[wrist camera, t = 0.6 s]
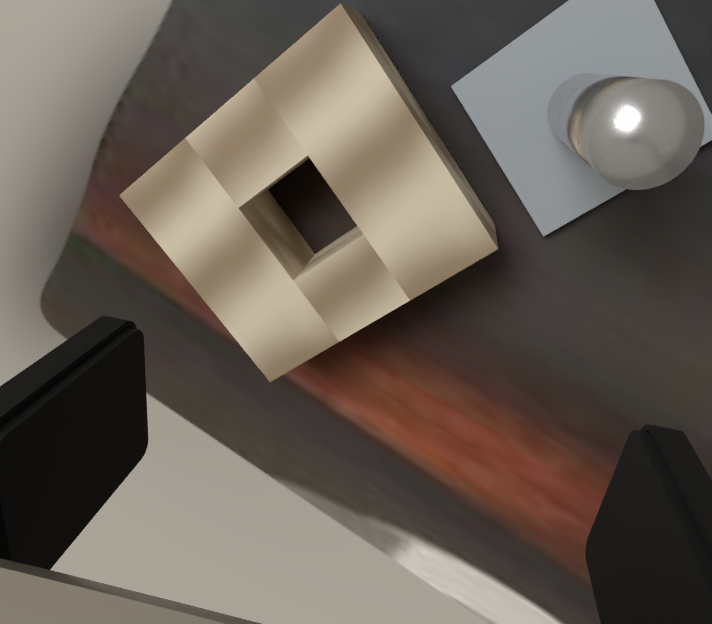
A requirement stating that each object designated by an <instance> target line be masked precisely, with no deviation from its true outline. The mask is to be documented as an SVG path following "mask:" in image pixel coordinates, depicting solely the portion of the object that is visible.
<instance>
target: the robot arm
mask: <svg viewBox="0 0 712 624" xmlns="http://www.w3.org/2000/svg"><path fill="white" fill-rule="evenodd" d="M147 445H148V425H147V402H146V379H145V356H144V337H143V333H142V332H141V331H140V330H137V328H136V325H135V323H133V322H132V321H128V320H123V319H118V318H113V317H108V316H102V317H100V318H98V319H97V320H95V321H94V322H93V323H91V324H90V325H88V326H87V327H85V328H84V329H82V330H81V331H80V332H78V333H77V334H75V335H74V336H72V337H71V338H69V339H68V340H67V341H65V342H64V343H62V344H61V345H60V346H58V347H56V348H55V349H54V350H52V351H51V352H49V353H48V354H47V355H45V356H43V357H42V358H41V359H39V360H38V361H36V362H35V363H33V364H32V365H31V366H29V367H28V368H26V369H25V370H23V371H22V372H21V373H19V374H17V375H16V376H15V377H13V378H12V379H10V380H9V381H7V382H6V383H5V384H3V385H2V386H0V624H260V623H256V622H252V621H249V620H244V619H241V618H237V617H233V616H229V615H225V614H221V613H218V612H214V611H210V610H206V609H202V608H198V607H194V606H190V605H186V604H182V603H179V602H175V601H171V600H167V599H163V598H159V597H155V596H150V595H147V594H143V593H139V592H135V591H131V590H127V589H123V588H119V587H115V586H111V585H107V584H103V583H99V582H95V581H91V580H87V579H83V578H79V577H75V576H71V575H67V574H63V573H59V572H55V571H51V570H50V569H51V568H52V567H53V565H54V564H55V563H56V562H57V561H58V559H59V558H60V557H61V556H62V555H63V553H64V552H65V551H66V550H67V548H68V547H69V546H70V545H71V544H72V542H73V541H74V540H75V539H76V538H77V536H78V535H79V534H80V533H81V532H82V530H83V529H84V528H85V527H86V525H87V524H88V523H89V522H90V520H91V519H92V518H93V517H94V516H95V514H96V513H97V512H98V511H99V510H100V508H101V507H102V506H103V505H104V503H105V502H106V501H107V500H108V499H109V498H110V496H111V495H112V494H113V493H114V491H115V490H116V489H117V488H118V486H119V485H120V484H121V483H122V482H123V481H124V479H125V478H126V477H127V476H128V475H129V473H130V472H131V471H132V470H133V469H134V467H135V466H136V465H137V464H138V462H139V461H140V460H141V459H142V457H143V456H144V454H145V452H146V448H147ZM586 562H587V566H588V570H589V574H590V579H591V583H592V587H593V592H594V596H595V600H596V604H597V609H598V613H599V617H600V621H601V624H712V480H711V478H710V477H709V475H708V473H707V471H706V470H705V468H704V466H703V464H702V463H701V461H700V459H699V458H698V456H697V454H696V452H695V451H694V449H693V447H692V445H691V444H690V442H689V440H688V439H687V437H686V435H685V434H684V433H683V432H682V431H679V430H674V429H669V428H664V427H659V426H654V425H649V424H647V425H645V426H644V427H643V428H642V429H641V431H638V430H633V431H632V432H631V433H630V435H629V437H628V439H627V442H626V444H625V447H624V449H623V452H622V454H621V457H620V459H619V462H618V464H617V467H616V469H615V472H614V474H613V477H612V479H611V481H610V484H609V486H608V489H607V491H606V494H605V496H604V499H603V501H602V504H601V506H600V509H599V511H598V514H597V516H596V519H595V521H594V524H593V526H592V529H591V531H590V534H589V536H588V539H587V543H586Z"/></svg>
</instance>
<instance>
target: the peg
mask: <svg viewBox="0 0 712 624" xmlns="http://www.w3.org/2000/svg"><path fill="white" fill-rule="evenodd" d="M547 117H548V123H549V126H550V128H551V130H552V132H553V133H554V134H555V135H556V137H558V138H559V139H560V140H561V141H562V142H563V143H564V144H565V145H567V146H568V147H569V148H570V149H571V150H572V151H573V152H575V153H576V154H577V155H578V156H579V157H580V158H581V159H583V160H584V161H585V162H586V163H587V164H588V165H589V166H591V167H592V168H593V169H594V170H595V171H596V172H597V173H599V174H600V175H601V176H602V177H603V178H604V179H606V180H607V181H608V182H610V183H612V184H613V185H616V186H618V187H621V188H625V189H631V190H643V189H650V188H654V187H657V186H660V185H663V184H665V183H667V182H669V181H670V180H672V179H674V178H675V177H677V176H678V175H679V174H680V173H682V172H683V171H684V170H685V169H686V168H687V167H688V166H689V164H690V163H691V162H692V161H693V159H694V158H695V156H696V154H697V153H698V150H699V148H700V146H701V143H702V140H703V136H704V128H705V122H704V115H703V111H702V108H701V106H700V104H699V102H698V100H697V99H696V97H695V96H694V95H693V94H692V93H691V92H690V91H689V90H688V89H687V88H685V87H683V86H682V85H680V84H678V83H675V82H672V81H668V80H661V79H650V78H639V77H628V76H617V75H606V74H594V73H583V74H579V75H575V76H573V77H571V78H569V79H567V80H566V81H564V82H563V83H562V84H561V85H560V86H559V87H558V88H557V89H556V90H555V92H554V93H553V95H552V97H551V99H550V102H549V105H548V111H547Z"/></svg>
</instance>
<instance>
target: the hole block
mask: <svg viewBox="0 0 712 624" xmlns="http://www.w3.org/2000/svg"><path fill="white" fill-rule="evenodd" d="M309 158H310V159H311V160H312V162H313V163H314V165H315V166H316V168H317V169H318V170H319V172H320V173H321V175H322V176H323V178H324V179H325V180H326V182H327V183H328V185H329V186H330V187H331V189H332V190H333V192H334V193H335V195H336V196H337V197H338V199H339V200H340V202H341V203H342V205H343V206H344V207H345V209H346V210H347V212H348V213H349V214H350V216H351V217H352V219H353V220H354V222H355V223H356V224H357V226H356V227H355V228H353V229H352V230H350V231H349V232H347V233H346V234H344V235H343V236H341V237H340V238H338V239H337V240H335V241H334V242H332V243H331V244H329V245H328V246H326V247H325V248H323V249H322V250H320V251H319V252H317V253H316V254H315V253H314V252H313V250H312V249H311V248H310V246H309V245H308V244H307V242H306V241H305V239H304V238H303V237H302V235H301V234H300V233H299V231H298V230H297V229H296V227H295V226H294V225H293V223H292V222H291V220H290V219H289V218H288V216H287V215H286V214H285V212H284V211H283V210H282V208H281V207H280V205H279V204H278V203H277V201H276V200H275V199H274V197H273V196H272V195H271V193H270V192H269V191H268V189H270V188H271V187H272V186H273V185H275V184H276V183H277V182H279V181H280V180H281V179H283V178H284V177H285V176H287V175H288V174H289V173H291V172H292V171H293V170H295V169H296V168H297V167H299V166H300V165H301V164H303V163H304V162H305V161H307V160H308V159H309ZM119 196H120V197H121V198H122V200H123V201H124V202H125V203H126V204H127V206H128V207H129V208H130V209H131V211H132V212H133V213H134V214H135V216H136V217H137V218H138V219H139V221H140V222H141V223H142V224H143V225H144V227H145V228H146V229H147V230H148V232H149V233H150V234H151V235H152V237H153V238H154V239H155V240H156V242H157V243H158V244H159V245H160V246H161V248H162V249H163V250H164V251H165V253H166V254H167V255H168V256H169V258H170V259H171V260H172V261H173V263H174V264H175V265H176V266H177V267H178V269H179V270H180V271H181V272H182V274H183V275H184V276H185V277H186V279H187V280H188V281H189V282H190V284H191V285H192V286H193V287H194V288H195V290H196V291H197V292H198V293H199V295H200V296H201V297H202V298H203V300H204V301H205V302H206V303H207V305H208V306H209V307H210V308H211V309H212V311H213V312H214V313H215V314H216V316H217V317H218V318H219V319H220V321H221V322H222V323H223V324H224V326H225V327H226V328H227V329H228V331H229V332H230V333H231V334H232V335H233V337H234V338H235V339H236V340H237V342H238V343H239V344H240V345H241V347H242V348H243V349H244V350H245V352H246V353H247V354H248V355H249V356H250V358H251V359H252V360H253V361H254V363H255V364H256V365H257V366H258V368H259V369H260V370H261V371H262V373H263V374H264V375H265V376H266V377H267V379H268V380H269V381H270V382H271V381H273V380H274V379H276V378H278V377H280V376H281V375H283V374H285V373H286V372H288V371H290V370H292V369H293V368H295V367H297V366H299V365H300V364H302V363H304V362H305V361H307V360H309V359H311V358H312V357H314V356H316V355H317V354H319V353H321V352H323V351H324V350H326V349H328V348H329V347H331V346H333V345H335V344H336V343H338V342H340V341H341V340H343V339H345V338H347V337H348V336H350V335H352V334H353V333H355V332H357V331H359V330H360V329H362V328H364V327H365V326H367V325H369V324H371V323H372V322H374V321H376V320H377V319H379V318H381V317H383V316H384V315H386V314H388V313H389V312H391V311H393V310H395V309H396V308H398V307H400V306H401V305H403V304H405V303H407V302H408V301H410V300H412V299H413V298H415V297H417V296H419V295H420V294H422V293H424V292H425V291H427V290H429V289H431V288H432V287H434V286H436V285H437V284H439V283H441V282H443V281H444V280H446V279H448V278H449V277H451V276H453V275H455V274H456V273H458V272H460V271H461V270H463V269H465V268H467V267H468V266H470V265H472V264H473V263H475V262H477V261H479V260H480V259H482V258H484V257H485V256H487V255H489V254H491V253H492V252H494V251H496V250H497V249H498V243H497V236H496V229H495V224H494V222H493V221H492V219H491V217H490V216H489V214H488V213H487V211H486V210H485V208H484V206H483V205H482V203H481V202H480V200H479V199H478V197H477V195H476V194H475V192H474V191H473V189H472V188H471V186H470V184H469V183H468V181H467V180H466V178H465V177H464V175H463V173H462V172H461V170H460V169H459V167H458V166H457V164H456V162H455V161H454V159H453V158H452V156H451V155H450V153H449V151H448V150H447V148H446V147H445V145H444V143H443V142H442V140H441V139H440V137H439V136H438V134H437V132H436V131H435V129H434V128H433V126H432V125H431V123H430V121H429V120H428V118H427V117H426V115H425V114H424V112H423V110H422V109H421V107H420V106H419V104H418V103H417V101H416V99H415V98H414V96H413V95H412V93H411V92H410V90H409V88H408V87H407V85H406V84H405V82H404V81H403V79H402V77H401V76H400V74H399V73H398V71H397V70H396V68H395V66H394V65H393V63H392V62H391V60H390V59H389V57H388V55H387V54H386V52H385V51H384V49H383V48H382V46H381V44H380V43H379V41H378V40H377V38H376V37H375V35H374V33H373V32H372V30H371V29H370V27H369V26H368V24H367V22H366V21H365V19H364V18H363V16H362V15H361V13H360V12H358V11H356V10H354V9H352V8H350V7H347V6H345V5H343V4H339V5H338V6H337V7H336V8H335V9H334V10H333V11H331V12H330V13H329V14H328V15H327V16H326V17H324V18H323V19H322V20H321V21H320V22H319V23H318V24H316V25H315V26H314V27H313V28H312V29H311V30H309V31H308V32H307V33H306V34H305V35H304V36H303V37H301V38H300V39H299V40H298V41H297V42H296V43H295V44H293V45H292V46H291V47H290V48H289V49H288V50H286V51H285V52H284V53H283V54H282V55H281V56H280V57H278V58H277V59H276V60H275V61H274V62H273V63H271V64H270V65H269V66H268V67H267V68H266V69H265V70H263V71H262V72H261V73H260V74H259V75H258V76H256V77H255V78H254V79H253V80H252V81H251V82H250V83H248V84H247V85H246V86H245V87H244V88H243V89H241V90H240V91H239V92H238V93H237V94H236V95H235V96H233V97H232V98H231V99H230V100H229V101H228V102H226V103H225V104H224V105H223V106H222V107H221V108H220V109H218V110H217V111H216V112H215V113H214V114H213V115H211V116H210V117H209V118H208V119H207V120H206V121H205V122H203V123H202V124H201V125H200V126H199V127H198V128H197V129H195V130H194V131H193V132H192V133H191V134H190V135H188V136H187V137H186V138H185V139H184V140H183V141H182V142H180V143H179V144H178V145H177V146H176V147H175V148H173V149H172V150H171V151H170V152H169V153H168V154H167V155H165V156H164V157H163V158H162V159H161V160H160V161H158V162H157V163H156V164H155V165H154V166H153V167H152V168H150V169H149V170H148V171H147V172H146V173H145V174H143V175H142V176H141V177H140V178H139V179H138V180H137V181H135V182H134V183H133V184H132V185H131V186H130V187H128V188H127V189H126V190H125V191H124V192H123V193H122V194H120V195H119Z"/></svg>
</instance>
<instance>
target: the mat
mask: <svg viewBox="0 0 712 624" xmlns="http://www.w3.org/2000/svg"><path fill="white" fill-rule="evenodd" d="M583 73H594V74H606V75H617V76H628V77H639V78H650V79H661V80H668V81H672V82H675V83H678V84H680V85H682V86H683V87H685V88H687V89H688V90H689V91H690V92H691V93H692V94H693V95H694V96H695V97H696V99H697V100H698V102H699V104H700V106H701V108H702V111H703V115H704V122H705V128H704V136H703V140H702V143H701V146H703V145H704V144H706V143H708V142H710V141H711V140H712V115H711V113H710V111H709V109H708V107H707V105H706V103H705V101H704V99H703V97H702V95H701V93H700V91H699V89H698V87H697V85H696V83H695V81H694V79H693V77H692V75H691V73H690V71H689V69H688V67H687V65H686V63H685V61H684V59H683V57H682V55H681V53H680V51H679V49H678V47H677V45H676V43H675V41H674V39H673V37H672V35H671V33H670V31H669V29H668V27H667V25H666V23H665V21H664V19H663V17H662V15H661V13H660V11H659V9H658V7H657V5H656V3H655V1H654V0H569V1H567V2H566V3H565V4H563V5H562V6H560V7H559V8H558V9H556V10H555V11H554V12H552V13H551V14H549V15H548V16H547V17H545V18H544V19H543V20H541V21H540V22H539V23H537V24H536V25H534V26H533V27H532V28H530V29H529V30H528V31H526V32H525V33H523V34H522V35H521V36H519V37H518V38H517V39H515V40H514V41H512V42H511V43H510V44H508V45H507V46H506V47H504V48H503V49H502V50H500V51H499V52H497V53H496V54H495V55H493V56H492V57H491V58H489V59H488V60H486V61H485V62H484V63H482V64H481V65H480V66H478V67H477V68H475V69H474V70H473V71H471V72H470V73H469V74H467V75H466V76H465V77H463V78H462V79H460V80H459V81H458V82H456V83H455V84H454V85H452V86H451V87H452V89H453V90H454V92H455V94H456V95H457V97H458V99H459V100H460V102H461V103H462V105H463V107H464V108H465V110H466V112H467V113H468V115H469V116H470V118H471V120H472V121H473V123H474V125H475V126H476V128H477V129H478V131H479V133H480V134H481V136H482V138H483V139H484V141H485V142H486V144H487V146H488V147H489V149H490V150H491V152H492V154H493V155H494V157H495V159H496V160H497V162H498V163H499V165H500V167H501V168H502V170H503V172H504V173H505V175H506V176H507V178H508V180H509V181H510V183H511V185H512V186H513V188H514V189H515V191H516V193H517V194H518V196H519V198H520V199H521V201H522V202H523V204H524V206H525V207H526V209H527V211H528V212H529V214H530V215H531V217H532V219H533V220H534V222H535V224H536V225H537V227H538V228H539V230H540V232H541V233H542V235H543V237H544V236H545V235H547V234H549V233H551V232H552V231H554V230H556V229H558V228H559V227H561V226H563V225H565V224H566V223H568V222H570V221H572V220H573V219H575V218H577V217H579V216H580V215H582V214H584V213H586V212H587V211H589V210H591V209H593V208H594V207H596V206H598V205H600V204H601V203H603V202H605V201H607V200H608V199H610V198H612V197H614V196H615V195H617V194H619V193H621V192H622V191H624V190H626V189H625V188H621V187H618V186H616V185H613V184H612V183H610V182H608V181H607V180H606V179H604V178H603V177H602V176H601V175H600V174H599V173H597V172H596V171H595V170H594V169H593V168H592V167H591V166H589V165H588V164H587V163H586V162H585V161H584V160H583V159H581V158H580V157H579V156H578V155H577V154H576V153H575V152H573V151H572V150H571V149H570V148H569V147H568V146H567V145H565V144H564V143H563V142H562V141H561V140H560V139H559V138H558V137H556V135H555V134H554V133H553V132H552V130H551V128H550V126H549V123H548V117H547V111H548V105H549V102H550V99H551V97H552V95H553V93H554V92H555V90H556V89H557V88H558V87H559V86H560V85H561V84H562V83H563V82H564V81H566V80H567V79H569V78H571V77H573V76H575V75H579V74H583ZM701 146H700V147H701Z"/></svg>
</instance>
